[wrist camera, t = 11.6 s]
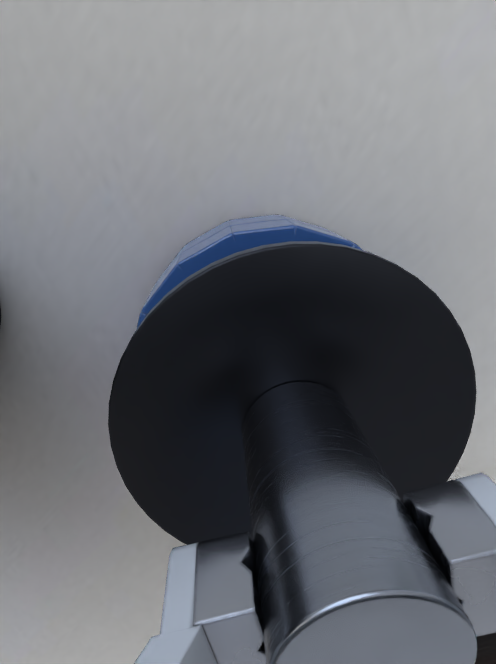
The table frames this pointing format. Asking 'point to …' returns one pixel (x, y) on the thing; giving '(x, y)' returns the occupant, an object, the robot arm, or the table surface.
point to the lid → (306, 442)
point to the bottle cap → (235, 247)
